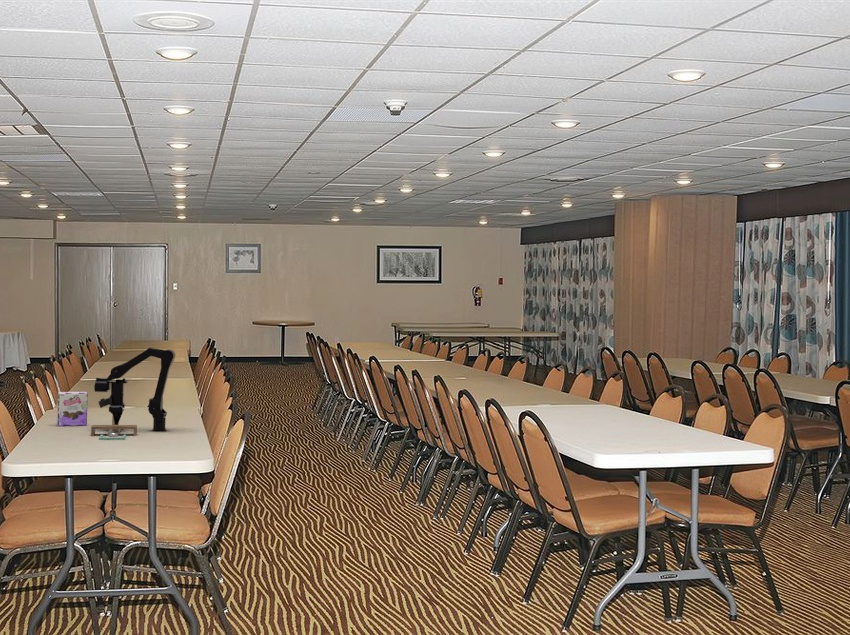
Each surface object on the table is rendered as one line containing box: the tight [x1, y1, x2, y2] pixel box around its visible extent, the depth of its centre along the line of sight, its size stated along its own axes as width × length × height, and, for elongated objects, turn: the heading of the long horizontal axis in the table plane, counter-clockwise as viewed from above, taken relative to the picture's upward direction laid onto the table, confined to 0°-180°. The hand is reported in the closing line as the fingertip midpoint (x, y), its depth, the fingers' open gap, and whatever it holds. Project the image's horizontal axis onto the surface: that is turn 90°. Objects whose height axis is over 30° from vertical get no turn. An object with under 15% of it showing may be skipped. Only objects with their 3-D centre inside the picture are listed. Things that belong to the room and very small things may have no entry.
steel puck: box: [108, 433, 119, 438], centre depth 457 cm, size 4×4×2 cm
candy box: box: [56, 391, 89, 427], centre depth 490 cm, size 14×6×16 cm, turn 112°
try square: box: [106, 413, 122, 437], centre depth 470 cm, size 22×5×9 cm, turn 13°
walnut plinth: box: [90, 424, 138, 437], centre depth 462 cm, size 6×20×4 cm, turn 104°
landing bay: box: [98, 434, 127, 441], centre depth 452 cm, size 11×11×1 cm
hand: (116, 424), depth 478 cm, fingers closed on try square, 3 cm apart
